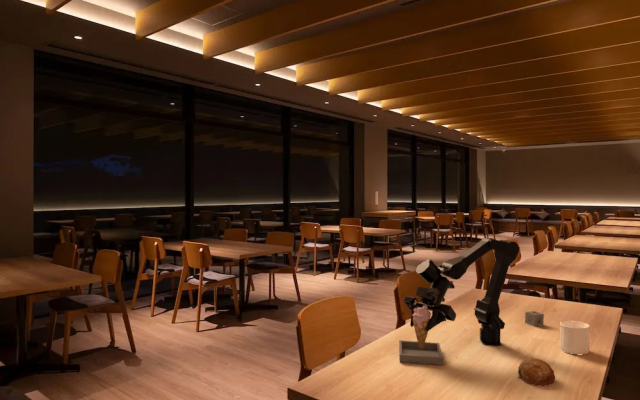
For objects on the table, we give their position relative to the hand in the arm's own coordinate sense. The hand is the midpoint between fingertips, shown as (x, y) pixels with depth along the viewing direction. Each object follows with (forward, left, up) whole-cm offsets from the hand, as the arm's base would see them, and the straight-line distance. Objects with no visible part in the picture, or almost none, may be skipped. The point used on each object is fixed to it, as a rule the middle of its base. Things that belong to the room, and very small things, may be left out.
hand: (418, 328), depth 147 cm
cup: (-56, -17, -10) cm, 59 cm away
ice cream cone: (-1, -1, -7) cm, 7 cm away
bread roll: (-35, +11, -10) cm, 38 cm away
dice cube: (-51, -47, -10) cm, 71 cm away
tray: (-1, -1, -10) cm, 10 cm away
